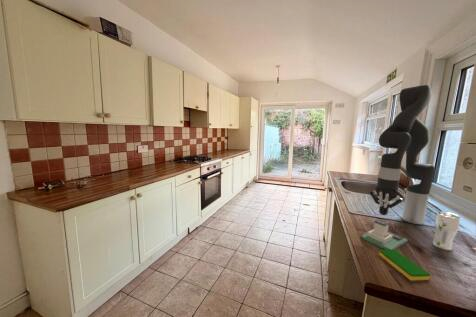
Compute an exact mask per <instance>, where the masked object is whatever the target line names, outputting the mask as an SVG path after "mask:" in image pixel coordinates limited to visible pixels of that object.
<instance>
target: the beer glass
mask: <svg viewBox="0 0 476 317" xmlns="http://www.w3.org/2000/svg"><path fill="white" fill-rule="evenodd" d="M460 219H461V216H459V215H457V214H456V213H451V212H448V211H447V212H446V211H437V214H436V217H435V223H434V228H435V229H434V230H435V234H434V236H435V237H434V239H433V241H432V244H433V246H435V247H436V248H438V249H440V250H444V251H453V242H454V239H455V237H456V235H457V233H458V232H459V231H458V230H459V227H460V221H461V220H460Z"/></svg>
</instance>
